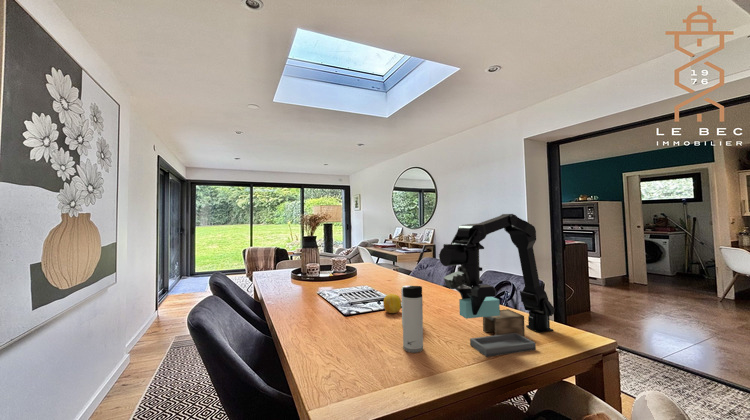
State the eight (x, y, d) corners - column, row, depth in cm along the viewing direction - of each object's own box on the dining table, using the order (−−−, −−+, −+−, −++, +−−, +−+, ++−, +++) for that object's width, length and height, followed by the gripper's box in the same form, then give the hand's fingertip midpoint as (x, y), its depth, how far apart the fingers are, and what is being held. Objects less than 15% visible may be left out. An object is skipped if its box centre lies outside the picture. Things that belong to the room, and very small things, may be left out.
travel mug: (411, 355, 91) (410, 288, 91) (399, 347, 97) (398, 284, 97) (427, 350, 94) (426, 286, 94) (415, 343, 99) (414, 282, 100)
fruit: (381, 310, 135) (380, 292, 136) (398, 308, 137) (397, 291, 138) (386, 316, 127) (386, 297, 127) (404, 314, 129) (404, 296, 129)
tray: (516, 339, 102) (516, 332, 102) (535, 349, 94) (535, 342, 94) (470, 345, 97) (470, 338, 97) (486, 357, 89) (486, 349, 89)
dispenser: (508, 328, 112) (508, 309, 112) (524, 336, 104) (524, 315, 105) (481, 331, 109) (481, 311, 109) (495, 339, 102) (495, 318, 102)
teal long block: (492, 311, 100) (491, 296, 100) (499, 315, 96) (499, 299, 97) (459, 314, 98) (459, 299, 98) (466, 318, 94) (465, 302, 94)
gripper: (434, 260, 104) (435, 306, 103) (462, 269, 86) (463, 325, 85) (463, 259, 107) (464, 303, 106) (496, 267, 88) (497, 321, 88)
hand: (471, 312), depth 96 cm, fingers closed on teal long block, 4 cm apart
